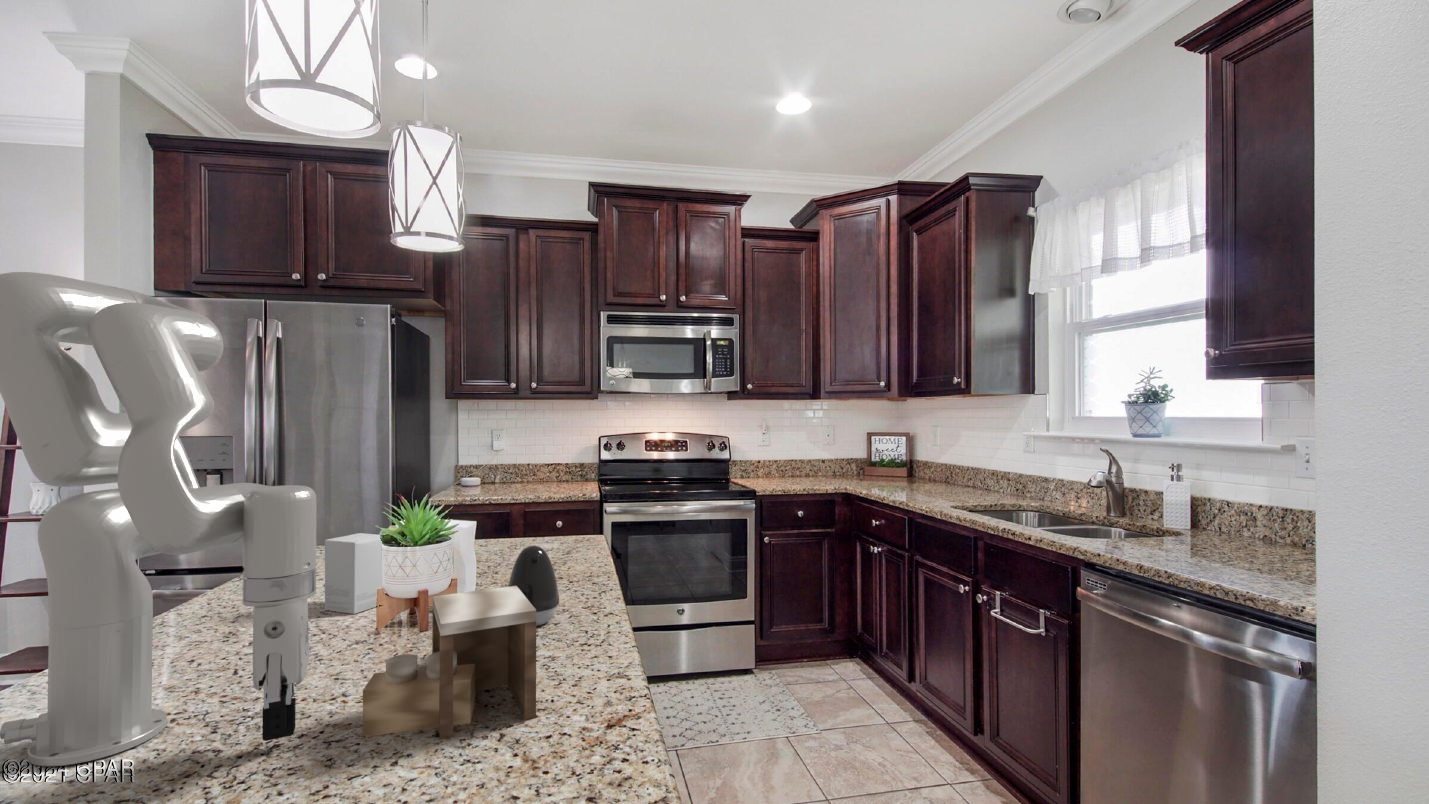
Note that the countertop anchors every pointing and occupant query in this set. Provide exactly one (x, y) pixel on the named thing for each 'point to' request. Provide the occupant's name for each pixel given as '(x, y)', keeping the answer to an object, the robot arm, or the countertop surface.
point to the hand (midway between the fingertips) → (279, 735)
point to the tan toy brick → (414, 695)
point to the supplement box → (352, 572)
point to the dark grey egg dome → (536, 582)
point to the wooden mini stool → (486, 645)
